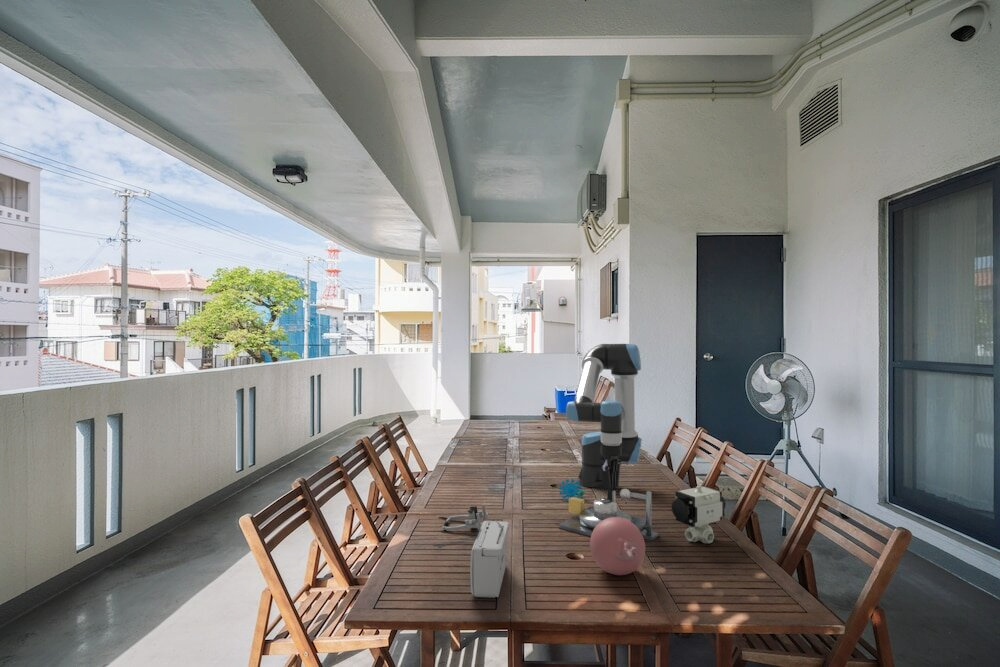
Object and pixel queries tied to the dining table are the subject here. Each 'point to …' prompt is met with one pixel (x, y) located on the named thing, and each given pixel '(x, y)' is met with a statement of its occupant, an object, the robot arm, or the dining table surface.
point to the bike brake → (472, 523)
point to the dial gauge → (646, 533)
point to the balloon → (617, 546)
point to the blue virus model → (571, 489)
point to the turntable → (589, 513)
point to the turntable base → (576, 526)
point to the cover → (605, 508)
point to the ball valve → (699, 511)
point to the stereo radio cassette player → (489, 559)
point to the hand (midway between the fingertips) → (611, 508)
